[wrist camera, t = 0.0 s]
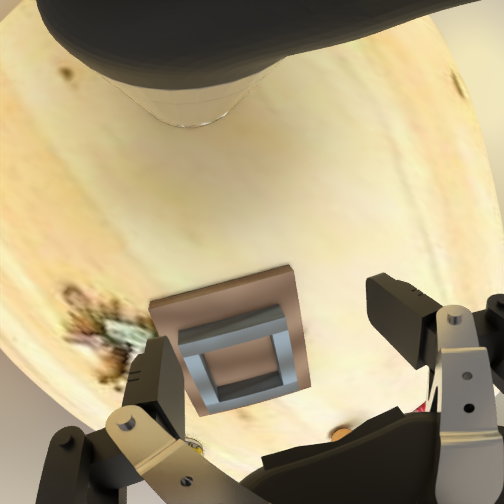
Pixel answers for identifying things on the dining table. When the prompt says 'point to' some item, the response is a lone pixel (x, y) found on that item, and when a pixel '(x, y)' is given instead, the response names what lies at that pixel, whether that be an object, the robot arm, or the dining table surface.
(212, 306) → the cradle board
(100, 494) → the robot arm
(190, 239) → the dining table surface
